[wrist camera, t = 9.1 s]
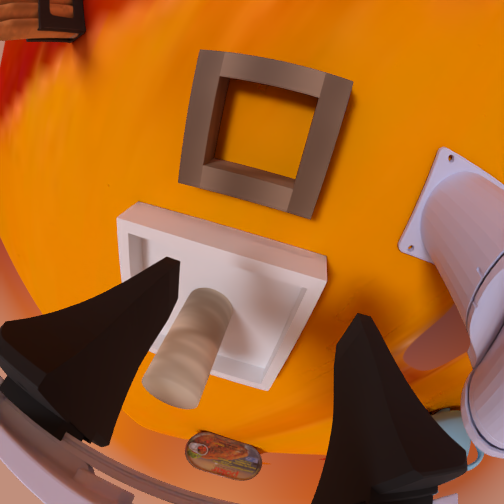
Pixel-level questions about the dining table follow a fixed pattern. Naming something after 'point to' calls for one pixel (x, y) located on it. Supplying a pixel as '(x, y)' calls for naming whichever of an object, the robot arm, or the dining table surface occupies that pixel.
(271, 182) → the frame
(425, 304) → the dining table surface
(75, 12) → the ammunition clip
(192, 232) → the tray
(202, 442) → the tin
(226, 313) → the dowel
